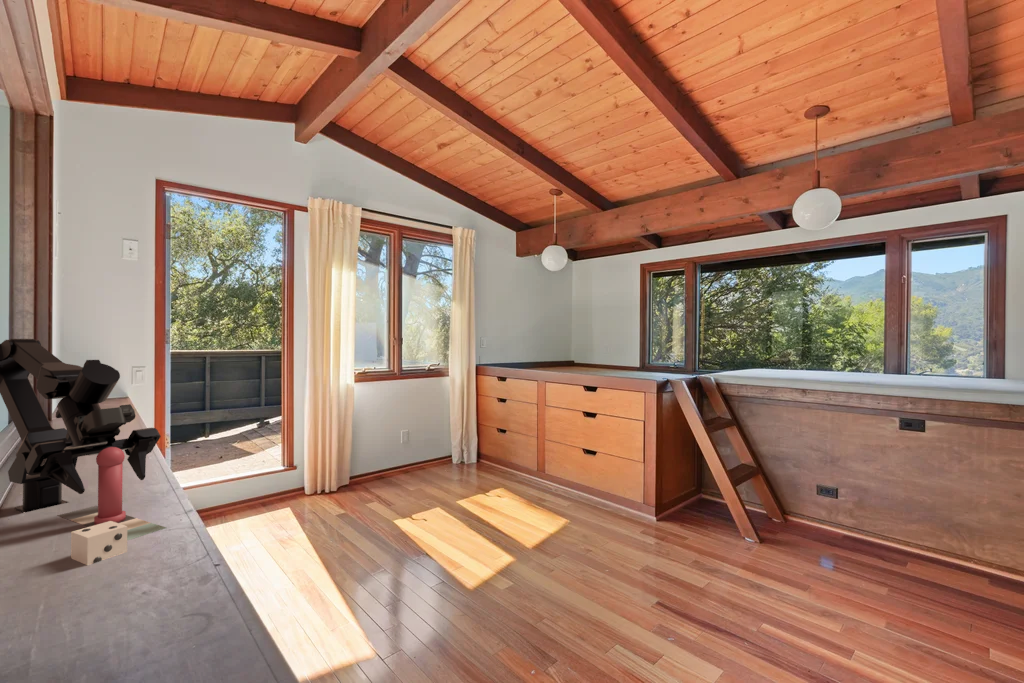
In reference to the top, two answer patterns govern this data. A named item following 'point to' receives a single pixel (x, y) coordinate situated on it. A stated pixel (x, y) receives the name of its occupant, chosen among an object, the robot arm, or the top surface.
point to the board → (133, 524)
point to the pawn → (110, 486)
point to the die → (98, 542)
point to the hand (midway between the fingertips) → (114, 485)
